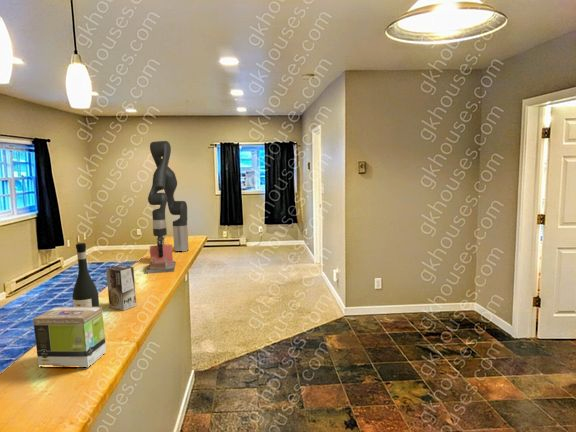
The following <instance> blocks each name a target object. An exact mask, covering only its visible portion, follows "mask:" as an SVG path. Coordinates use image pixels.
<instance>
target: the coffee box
mask: <svg viewBox="0 0 576 432" xmlns="http://www.w3.org/2000/svg"><path fill="white" fill-rule="evenodd" d="M134 267H135V266H129V265H128V266H127V265H123V264H122V265H121V264H118V265H113V266H111V267H108V268H105V275H106V284H107V293H108V294H107V295H108V303H109V308H111V309H116V310H121V311H126V310H129V309H132V308H134V307H135V308H136V307H137V298H136V286H135V285H136V284H135V283H136V282H135V271H134V270H135V269H134Z"/></svg>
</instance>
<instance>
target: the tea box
mask: <svg viewBox="0 0 576 432" xmlns="http://www.w3.org/2000/svg"><path fill="white" fill-rule="evenodd" d="M103 314H104V313H103V308H102V306H99V307H73V306H55V307H53V308H52V309H49V310H48V311H46V312H44V313H41V314H39V315H37V316H35V317H33V319H32V320H33V328H34V329H33V330H34V337H35V346H36V356H37V365H38V366H39V365H53V366H79V367H88V366H90V365H91V364H93V363H94V362H95V361H96V360H97V359H99V358H100V357H101V356H102V355H103V354H104V353H107V350H106V349H107V348H106V347H107V346H106V337H105V336H106V335H105V326H104V315H103ZM103 356H104V355H103ZM103 356H102V357H103ZM102 357H101V358H102ZM101 358H100V359H101ZM100 359H99V360H100ZM96 362H97V361H96ZM96 362H95V363H96ZM95 363H94V364H95ZM94 364H93V365H94ZM91 366H92V365H91ZM91 366H90V367H91Z"/></svg>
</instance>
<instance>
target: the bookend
mask: <svg viewBox="0 0 576 432" xmlns="http://www.w3.org/2000/svg"><path fill="white" fill-rule="evenodd" d="M164 263H165V268H166V267H172V266H173V262H168V263H167V256H165V259H164Z"/></svg>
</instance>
